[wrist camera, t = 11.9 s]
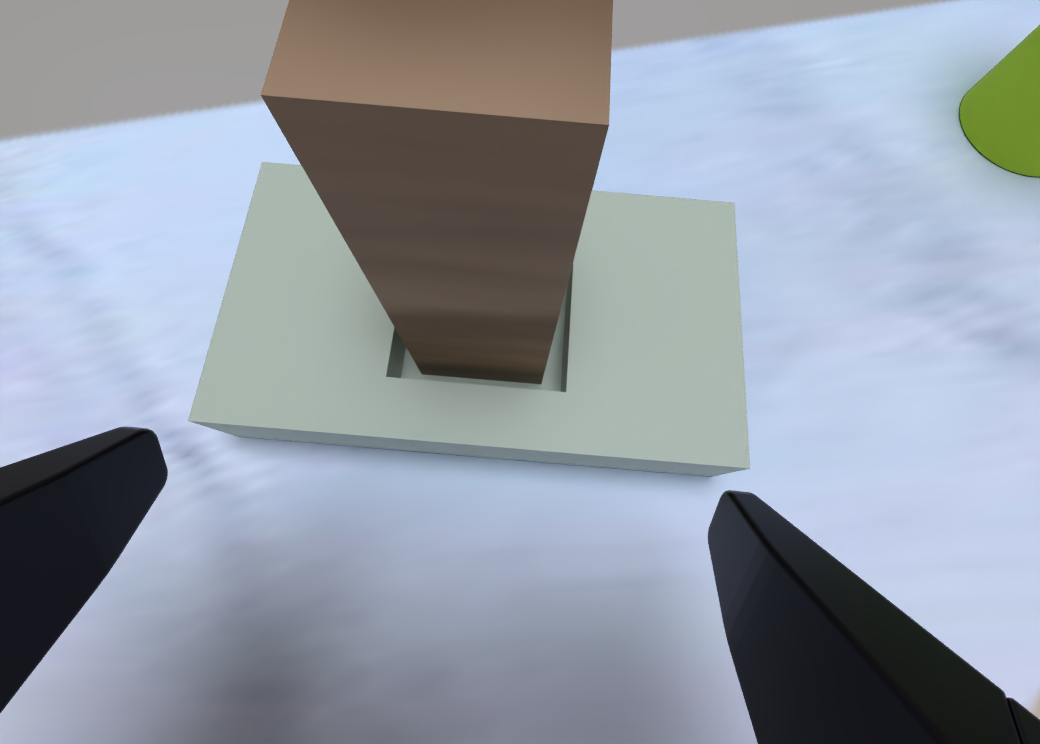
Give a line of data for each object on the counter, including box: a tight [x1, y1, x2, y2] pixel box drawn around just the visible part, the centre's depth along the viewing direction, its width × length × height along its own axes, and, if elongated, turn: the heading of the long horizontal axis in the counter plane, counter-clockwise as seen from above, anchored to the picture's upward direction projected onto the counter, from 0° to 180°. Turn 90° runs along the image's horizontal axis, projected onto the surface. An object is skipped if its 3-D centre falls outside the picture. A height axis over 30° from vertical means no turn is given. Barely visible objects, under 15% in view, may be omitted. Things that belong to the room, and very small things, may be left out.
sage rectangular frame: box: [188, 162, 750, 477], centre depth 18 cm, size 18×10×3 cm, turn 85°
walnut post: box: [261, 0, 613, 384], centre depth 13 cm, size 4×4×12 cm
